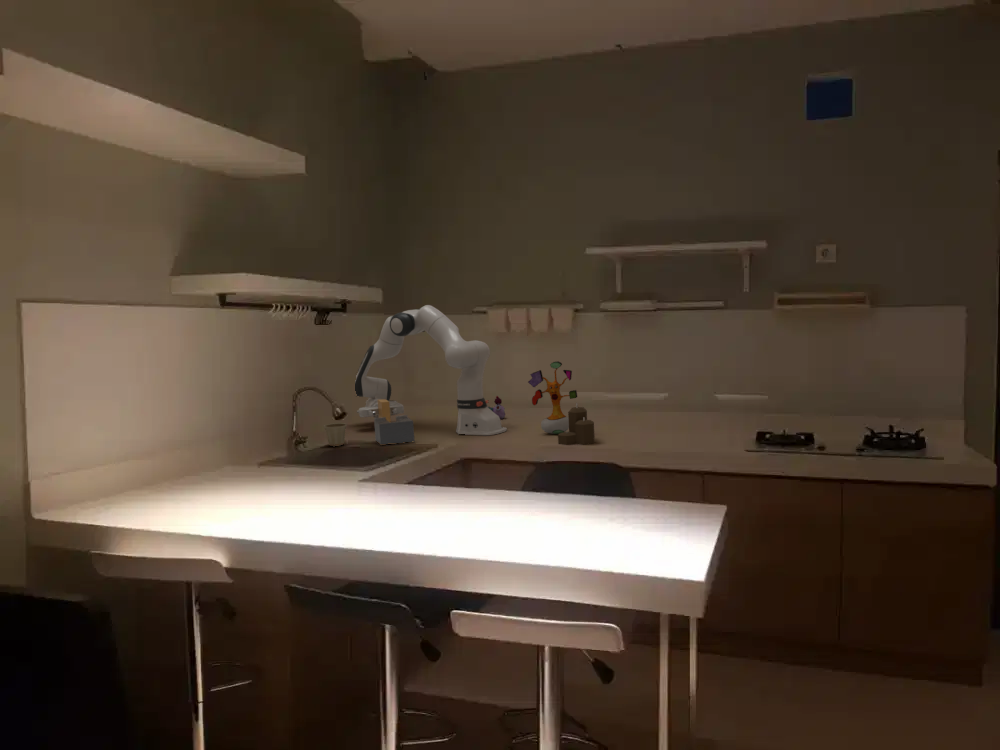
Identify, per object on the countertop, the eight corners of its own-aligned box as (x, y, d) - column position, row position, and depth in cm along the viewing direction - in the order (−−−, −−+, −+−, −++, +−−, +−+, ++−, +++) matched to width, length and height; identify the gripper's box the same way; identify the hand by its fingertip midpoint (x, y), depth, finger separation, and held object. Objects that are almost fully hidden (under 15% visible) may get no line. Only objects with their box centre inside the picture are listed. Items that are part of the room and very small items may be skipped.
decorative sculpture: (529, 435, 347) (525, 363, 344) (532, 432, 355) (529, 361, 352) (577, 435, 342) (573, 362, 339) (579, 431, 350) (576, 360, 347)
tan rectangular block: (379, 430, 380) (377, 399, 378) (387, 429, 381) (385, 399, 379) (383, 433, 370) (381, 402, 369) (391, 433, 371) (389, 401, 370)
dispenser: (375, 441, 353) (374, 418, 352) (408, 437, 358) (406, 414, 357) (380, 446, 342) (379, 422, 341) (414, 442, 346) (412, 418, 345)
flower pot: (335, 442, 355) (334, 422, 354) (353, 444, 350) (351, 423, 349) (320, 447, 347) (318, 426, 346) (337, 448, 342) (336, 427, 341)
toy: (497, 433, 390) (511, 404, 388) (469, 419, 389) (482, 390, 388) (498, 429, 400) (511, 401, 399) (470, 416, 400) (483, 387, 398)
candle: (563, 438, 338) (561, 401, 337) (596, 438, 335) (595, 400, 334) (557, 445, 325) (555, 406, 323) (592, 444, 322) (591, 406, 320)
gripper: (355, 404, 384) (360, 408, 370) (399, 400, 390) (406, 403, 377) (356, 417, 384) (361, 422, 371) (400, 413, 391) (406, 417, 378)
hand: (384, 412), depth 374 cm, fingers open, 8 cm apart
